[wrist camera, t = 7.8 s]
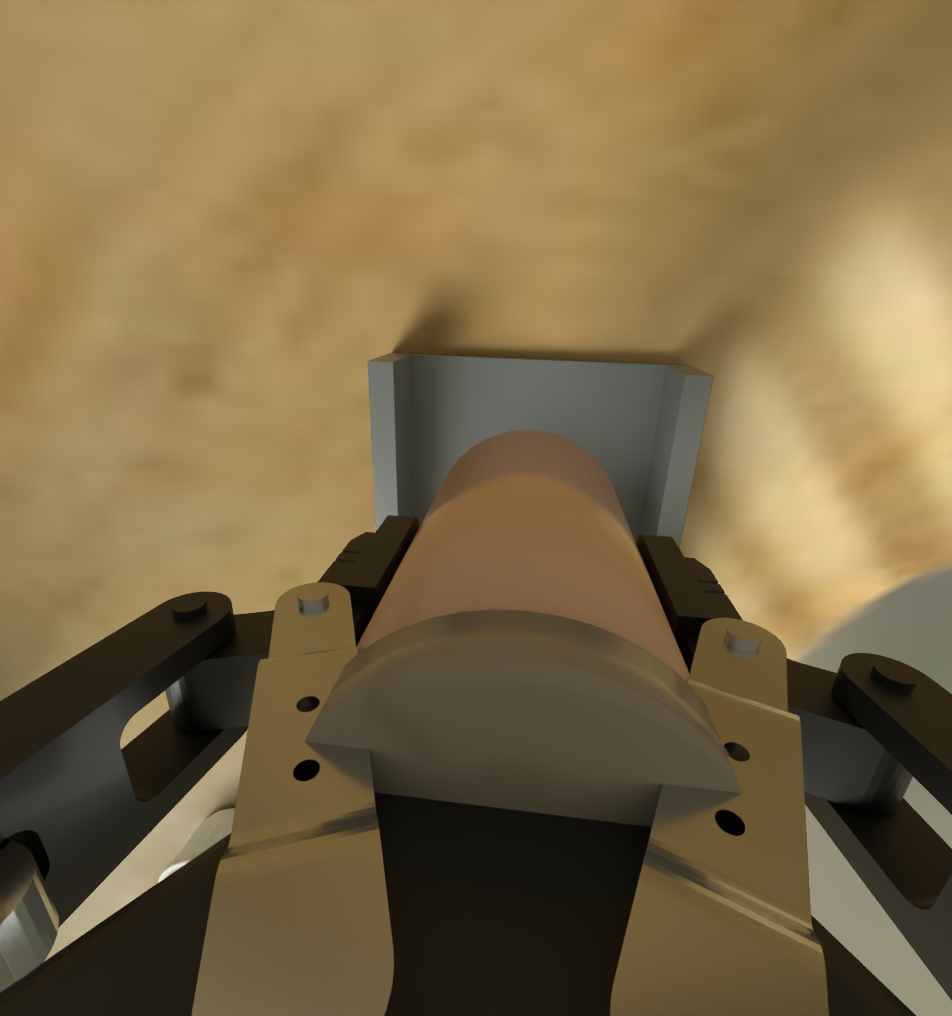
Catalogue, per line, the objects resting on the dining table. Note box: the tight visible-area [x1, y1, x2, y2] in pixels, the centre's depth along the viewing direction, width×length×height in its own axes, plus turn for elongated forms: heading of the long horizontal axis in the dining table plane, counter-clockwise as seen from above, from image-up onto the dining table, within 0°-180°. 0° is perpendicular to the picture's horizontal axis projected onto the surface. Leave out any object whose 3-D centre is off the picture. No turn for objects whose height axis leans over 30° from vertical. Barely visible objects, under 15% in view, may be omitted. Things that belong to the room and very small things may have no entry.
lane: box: [368, 353, 713, 547], centre depth 23 cm, size 22×13×8 cm, turn 178°
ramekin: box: [158, 808, 235, 883], centre depth 36 cm, size 9×9×4 cm
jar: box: [304, 430, 742, 827], centre depth 11 cm, size 6×6×11 cm
